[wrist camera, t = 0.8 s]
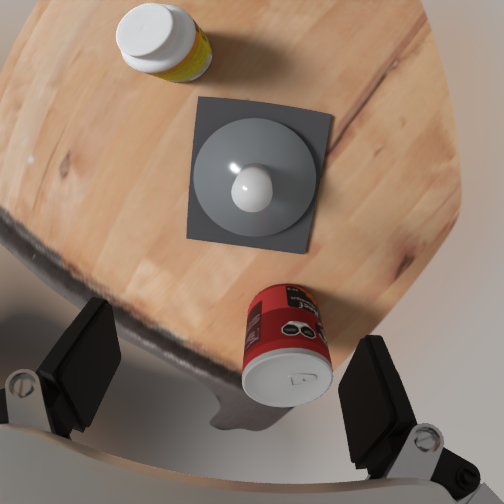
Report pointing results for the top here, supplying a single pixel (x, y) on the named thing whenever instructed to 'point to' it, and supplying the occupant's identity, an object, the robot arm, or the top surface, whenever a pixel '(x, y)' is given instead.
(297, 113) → the mat
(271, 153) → the lid
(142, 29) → the supplement bottle
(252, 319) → the canned food
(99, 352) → the robot arm
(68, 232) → the top surface
